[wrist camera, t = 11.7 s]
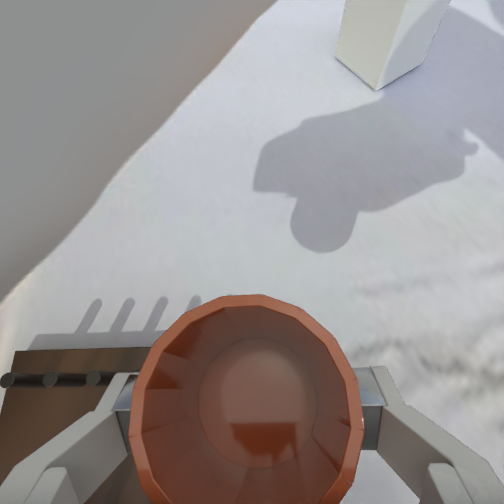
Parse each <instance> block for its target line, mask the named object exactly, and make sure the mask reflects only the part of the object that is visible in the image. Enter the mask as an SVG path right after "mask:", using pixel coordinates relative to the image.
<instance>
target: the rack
mask: <svg viewBox="0 0 504 504" xmlns="http://www.w3.org/2000/svg"><path fill="white" fill-rule="evenodd" d="M150 349H151V347H130V348H97V349H64V350H31V351H15V355H14V359H13V364H12V368H11V372H10V373H6V374H4V375H3V376H2V377H1V379H0V385H1V387H2V388H7V389H6V393H5V397H4V401H3V405H2V409H1V414H0V486H1V485H2V483H3V482H4V480H5V479H6V478H7V476H8V475H9V473H10V472H11V471H12V469H13V468H14V466H15V465H17V464H18V463H20V462H21V461H22V460H24V459H25V458H26V457H28V456H29V455H31V454H32V453H33V452H35V451H36V450H37V449H39V448H40V447H42V446H43V445H44V444H46V443H47V442H48V441H50V440H51V439H53V438H54V437H55V436H57V435H58V434H59V433H61V432H62V431H64V430H65V429H66V428H68V427H69V426H70V425H72V424H73V423H74V422H76V421H77V420H79V419H80V418H81V417H83V416H84V415H85V414H87V413H88V412H91V411H94V410H95V409H96V407H97V405H98V403H99V402H100V400H101V398H102V396H103V395H104V393H105V391H106V389H107V388H108V386H109V384H110V382H111V380H112V379H113V377H114V376H115V375H116V374H117V373H132V372H140V371H141V369H142V366H143V364H144V362H145V360H146V358H147V356H148V354H149V351H150ZM84 504H153V503H152V502H151V501H150V499H149V498H148V497H147V495H146V494H145V493H144V491H143V490H142V488H141V485H140V481H139V478H138V474H137V470H136V466H135V462H134V459H133V455H132V453H128V455H127V457H126V458H125V459H124V460H123V461H122V462H121V463H120V464H119V465H118V466H117V468H116V469H115V470H114V471H113V472H112V473H111V474H110V475H109V476H108V477H107V479H106V480H105V481H104V482H103V483H102V484H101V485H100V486H99V487H98V488H97V490H96V491H95V492H94V493H93V494H92V495H91V496H90V497H89V498H88V499H87V500H86V502H85V503H84Z"/></svg>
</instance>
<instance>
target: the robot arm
mask: <svg viewBox="0 0 504 504" xmlns="http://www.w3.org/2000/svg"><path fill="white" fill-rule="evenodd" d="M352 370H353V371H354V373H355V375H356V377H357V380H358V385H359V392H360V399H361V406H362V413H363V420H364V427H365V430H364V431H365V433H364V437H363V442H362V446H361V450H377V452H378V454H379V455H380V456H381V457H382V458H383V459H384V460H385V461H386V462H387V464H388V465H389V466H390V467H391V468H392V469H393V470H394V471H395V472H396V473H397V475H398V476H399V477H400V478H401V479H402V480H403V481H404V482H405V483H406V485H407V486H408V487H409V488H410V489H411V490H412V491H413V492H414V493H415V494H416V496H417V497H418V498H419V499H420V503H419V504H504V486H503V484H502V483H501V481H500V480H499V478H498V477H497V475H496V473H495V472H494V470H493V469H492V467H491V466H490V464H489V463H488V461H486V460H485V459H484V458H482V457H481V456H480V455H478V454H477V453H475V452H474V451H473V450H471V449H470V448H469V447H467V446H466V445H464V444H463V443H462V442H460V441H459V440H458V439H456V438H455V437H453V436H452V435H451V434H449V433H448V432H447V431H445V430H444V429H442V428H441V427H440V426H438V425H437V424H436V423H434V422H433V421H431V420H430V419H429V418H427V417H426V416H425V415H423V414H422V413H420V412H419V411H418V410H416V409H415V408H414V407H412V406H411V405H405V403H404V401H403V399H402V397H401V395H400V393H399V391H398V389H397V387H396V385H395V383H394V381H393V379H392V377H391V375H390V373H389V371H388V369H387V368H386V367H385V366H376V367H353V368H352ZM139 373H140V372H132V373H117V374H116V375H115V376H114V377H113V379H112V380H111V382H110V384H109V386H108V388H107V389H106V391H105V393H104V395H103V396H102V398H101V400H100V402H99V403H98V405H97V407H96V409H95V410H94V411H91V412H88V413H87V414H85V415H84V416H83V417H81V418H80V419H79V420H77V421H76V422H74V423H73V424H72V425H70V426H69V427H68V428H66V429H65V430H64V431H62V432H61V433H59V434H58V435H57V436H55V437H54V438H53V439H51V440H50V441H48V442H47V443H46V444H44V445H43V446H42V447H40V448H39V449H37V450H36V451H35V452H33V453H32V454H31V455H29V456H28V457H26V458H25V459H24V460H22V461H21V462H20V463H18V464H17V465H15V466H14V468H13V469H12V471H11V472H10V473H9V475H8V476H7V478H6V479H5V480H4V482H3V483H2V485H1V486H0V504H84V503H85V502H86V500H87V499H88V498H89V497H90V496H91V495H92V494H93V493H94V492H95V491H96V490H97V488H98V487H99V486H100V485H101V484H102V483H103V482H104V481H105V480H106V479H107V477H108V476H109V475H110V474H111V473H112V472H113V471H114V470H115V469H116V468H117V466H118V465H119V464H120V463H121V462H122V461H123V460H124V459H125V458H126V457H127V455H128V453H132V451H131V447H130V443H129V440H128V438H129V437H128V432H129V422H130V411H131V401H132V391H133V388H134V387H133V386H134V384H135V381H136V379H137V377H138V375H139Z"/></svg>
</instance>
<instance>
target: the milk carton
mask: <svg viewBox="0 0 504 504" xmlns="http://www.w3.org/2000/svg"><path fill="white" fill-rule="evenodd" d="M450 1H451V0H346V2H345V7H344V12H343V17H342V23H341V28H340V33H339V38H338V43H337V49H336V54H335V57H336V58H337V59H339V60H340V61H341V62H342V63H343V64H344V65H346V66H347V67H348V68H349V69H350V70H352V71H353V72H354V73H355V74H356V75H357V76H359V77H360V78H361V79H362V80H363V81H365V82H366V83H367V84H368V85H369V86H371V87H372V88H373V89H374V90H376V91H377V90H379V89H380V88H382V87H384V86H385V85H387V84H389V83H390V82H392V81H394V80H395V79H397V78H399V77H400V76H402V75H404V74H405V73H407V72H409V71H410V70H412V69H414V68H415V67H417V66H418V65H420V64H421V63H422V61H423V59H424V57H425V55H426V53H427V51H428V48H429V46H430V44H431V42H432V40H433V38H434V35H435V33H436V31H437V29H438V27H439V25H440V22H441V20H442V18H443V16H444V14H445V12H446V10H447V7H448V5H449V3H450Z"/></svg>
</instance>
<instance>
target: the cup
mask: <svg viewBox="0 0 504 504" xmlns="http://www.w3.org/2000/svg"><path fill="white" fill-rule="evenodd" d="M133 387H134V388H133V391H132V401H131V411H130V422H129V432H128V437H129V438H128V440H129V443H130V447H131V451H132V455H133V459H134V462H135V466H136V470H137V474H138V478H139V481H140V485H141V488H142V490H143V491H144V493H145V494H146V495H147V497H148V498H149V499H150V501H151V502H152V503H153V504H339V503H340V502H341V500H342V499H343V497H344V496H345V495H346V493H347V492H348V490H349V489H350V487H351V486H352V483H353V482H354V478H355V473H356V469H357V464H358V460H359V455H360V451H361V446H362V442H363V437H364V433H365V431H364V430H365V427H364V420H363V413H362V406H361V399H360V392H359V385H358V380H357V377H356V375H355V373H354V371H353V370H352V368H351V366H350V364H349V362H348V360H347V359H346V357H345V355H344V353H343V351H342V349H341V348H340V346H339V344H338V342H337V340H336V338H335V337H334V336H333V335H332V334H331V333H330V332H329V331H327V330H326V329H325V328H324V327H323V326H322V325H320V324H319V323H318V322H317V321H316V320H315V319H313V318H312V317H311V316H310V315H309V314H308V313H306V312H305V311H304V310H303V309H300V307H297V306H295V305H292V304H289V303H286V302H283V301H280V300H277V299H274V298H271V297H269V296H266V295H261V294H254V295H234V296H222V297H218V298H216V299H214V300H212V301H210V302H207V303H205V304H203V305H201V306H199V307H196V308H194V309H192V310H190V311H188V312H185V313H184V314H182V315H181V316H180V317H179V318H178V320H177V321H176V322H175V323H174V324H173V325H172V326H171V327H170V328H169V329H168V330H167V331H166V332H165V333H164V334H163V335H162V336H161V337H160V338H159V339H158V340H157V341H156V342H155V343H154V344H153V345H152V347H151V349H150V351H149V354H148V356H147V358H146V360H145V362H144V364H143V366H142V369H141V371H140V373H139V375H138V377H137V379H136V381H135V384H134V386H133Z"/></svg>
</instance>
